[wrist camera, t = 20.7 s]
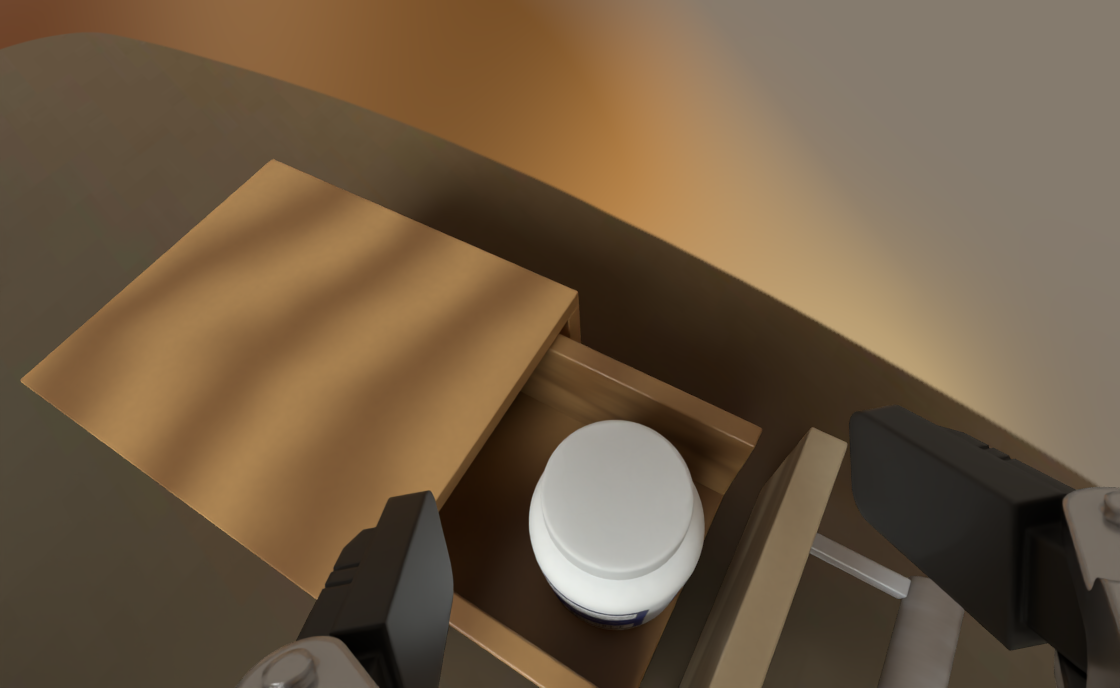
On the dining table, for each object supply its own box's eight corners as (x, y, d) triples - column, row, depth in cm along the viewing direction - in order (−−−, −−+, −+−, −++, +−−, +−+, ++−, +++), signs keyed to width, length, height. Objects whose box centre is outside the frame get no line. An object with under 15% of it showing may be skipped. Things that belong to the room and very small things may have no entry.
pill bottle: (622, 464, 24) (632, 362, 17) (710, 570, 22) (769, 508, 14) (518, 543, 23) (477, 470, 15) (600, 665, 21) (600, 650, 13)
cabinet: (584, 394, 28) (578, 291, 21) (430, 645, 23) (351, 625, 16) (345, 276, 33) (272, 158, 26) (173, 462, 28) (18, 380, 20)
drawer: (914, 564, 23) (1023, 520, 17) (823, 901, 18) (931, 1004, 12) (501, 358, 29) (476, 273, 23) (350, 570, 24) (269, 532, 18)
